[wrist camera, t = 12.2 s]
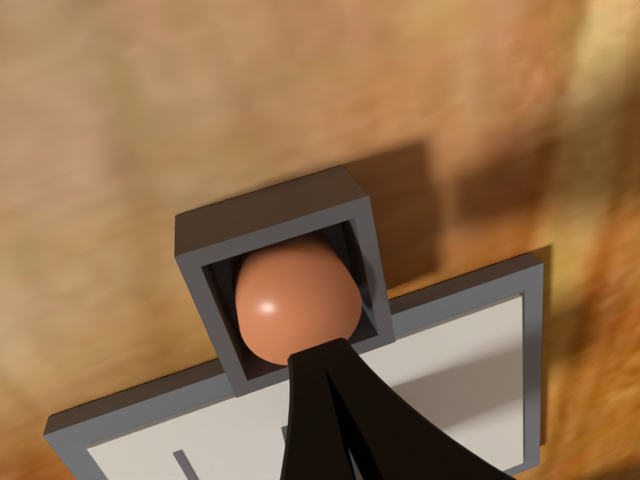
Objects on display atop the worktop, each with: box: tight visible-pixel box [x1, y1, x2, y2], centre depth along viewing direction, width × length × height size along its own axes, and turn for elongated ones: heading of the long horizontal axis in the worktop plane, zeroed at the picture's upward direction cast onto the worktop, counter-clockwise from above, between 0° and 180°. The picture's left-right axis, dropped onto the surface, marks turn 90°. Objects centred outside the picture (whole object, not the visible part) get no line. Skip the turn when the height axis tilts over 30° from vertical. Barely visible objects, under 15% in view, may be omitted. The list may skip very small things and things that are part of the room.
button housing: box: [174, 165, 396, 398], centre depth 15 cm, size 5×5×2 cm
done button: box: [232, 231, 362, 365], centre depth 14 cm, size 3×3×2 cm
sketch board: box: [43, 253, 544, 480], centre depth 20 cm, size 12×18×1 cm, turn 102°
